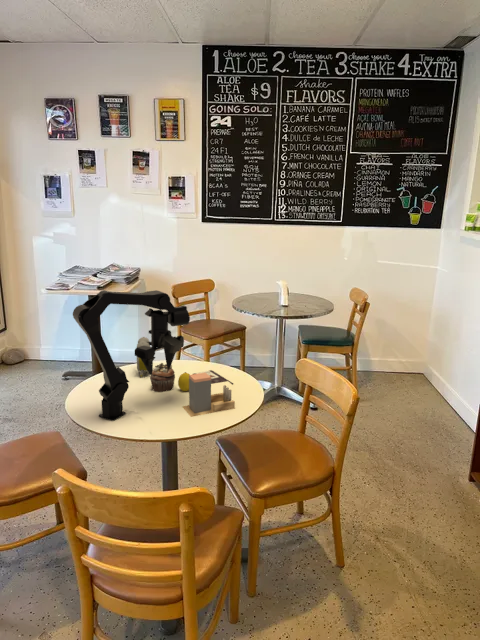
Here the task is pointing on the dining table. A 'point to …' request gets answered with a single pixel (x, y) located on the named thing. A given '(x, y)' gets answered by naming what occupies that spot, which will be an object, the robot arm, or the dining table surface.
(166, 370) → the cupcake
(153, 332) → the robot arm
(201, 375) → the plug block
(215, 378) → the chocolate bar
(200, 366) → the dining table surface
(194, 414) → the wooden stand
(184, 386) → the lemon
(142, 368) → the alarm clock
